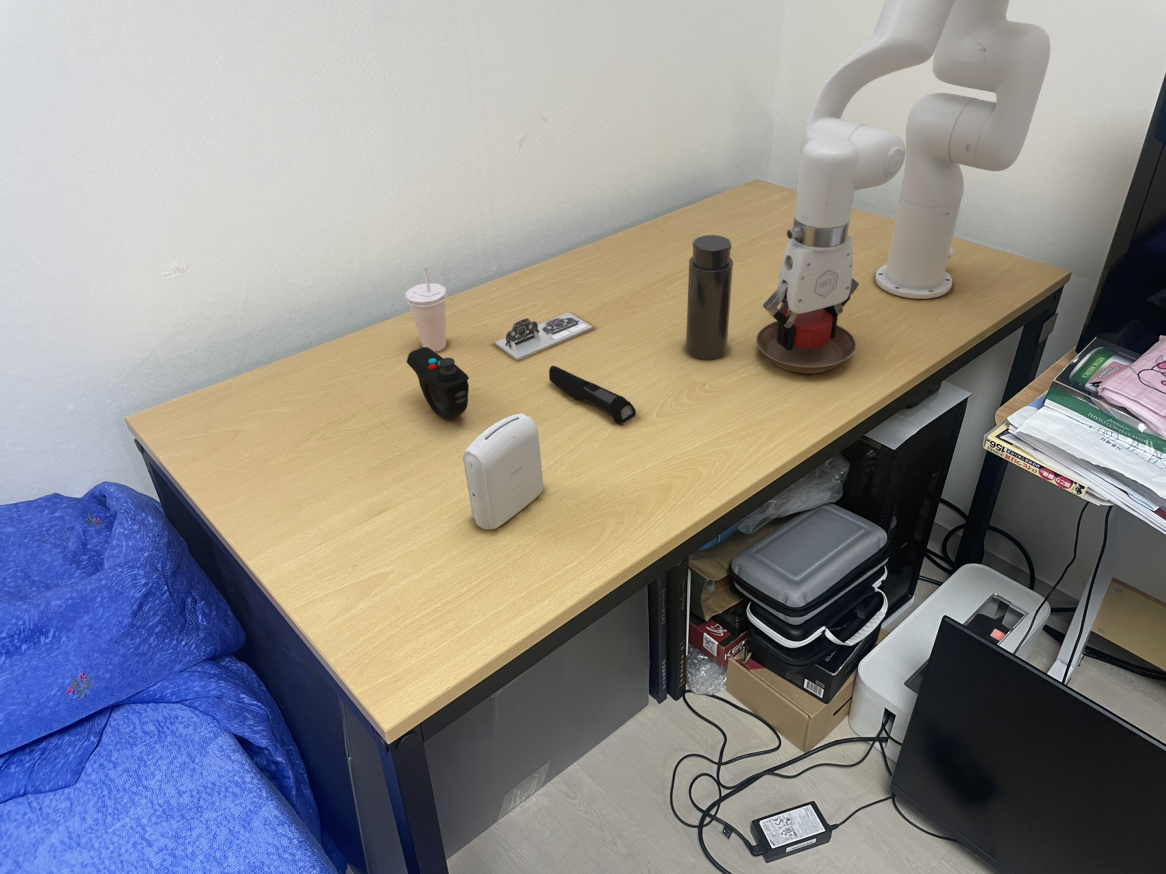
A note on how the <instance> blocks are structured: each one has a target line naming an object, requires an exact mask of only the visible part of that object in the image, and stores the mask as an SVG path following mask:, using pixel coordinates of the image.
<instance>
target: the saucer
mask: <svg viewBox="0 0 1166 874" xmlns="http://www.w3.org/2000/svg"><path fill="white" fill-rule="evenodd" d="M778 323H779V322H778V321H777V320H775V321H773V322H769V324H767V325H765V326H764V327H762V328H761V329H760V330H759V331H758V332H757V335H756V338H755V339H756V341H755V342H756V345H757V347H758V349H759V351H760V352H761V353H762V355H763V356H764V357H765V358H766V359H767V360H768V361H770V362H771V363H772V364H774V365H776V366H777V367H779V368H780V369H784V370H785V371H789V372H793V373H796V374H797V373H798V374H818V373H824V372H829V371H830V370H833V369H835V368H837V367H839V366H841V365H842V364H844V363H845V362H847V360H849V359H850V357H852V356H853V354H854V353H855V351H856V350H857V349H856V348H857V342H856V339H855V338H854V336H853V335H852V333H850V332H849V331H848V330H847V329H845V328H844V327H841V326H840V325H839V324H837V325H836V332H835V337H834V338H832V339H830V341H829V342H828V343H827V344H826V345H825V346H823V347H820V348H815V349H803V348H798V347H795V346H793V349H792V350H790V351H787V350H786V349H785V348H784V347H782V346H781V345H780V344H779V343H778V342H777V332H778Z"/></svg>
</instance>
